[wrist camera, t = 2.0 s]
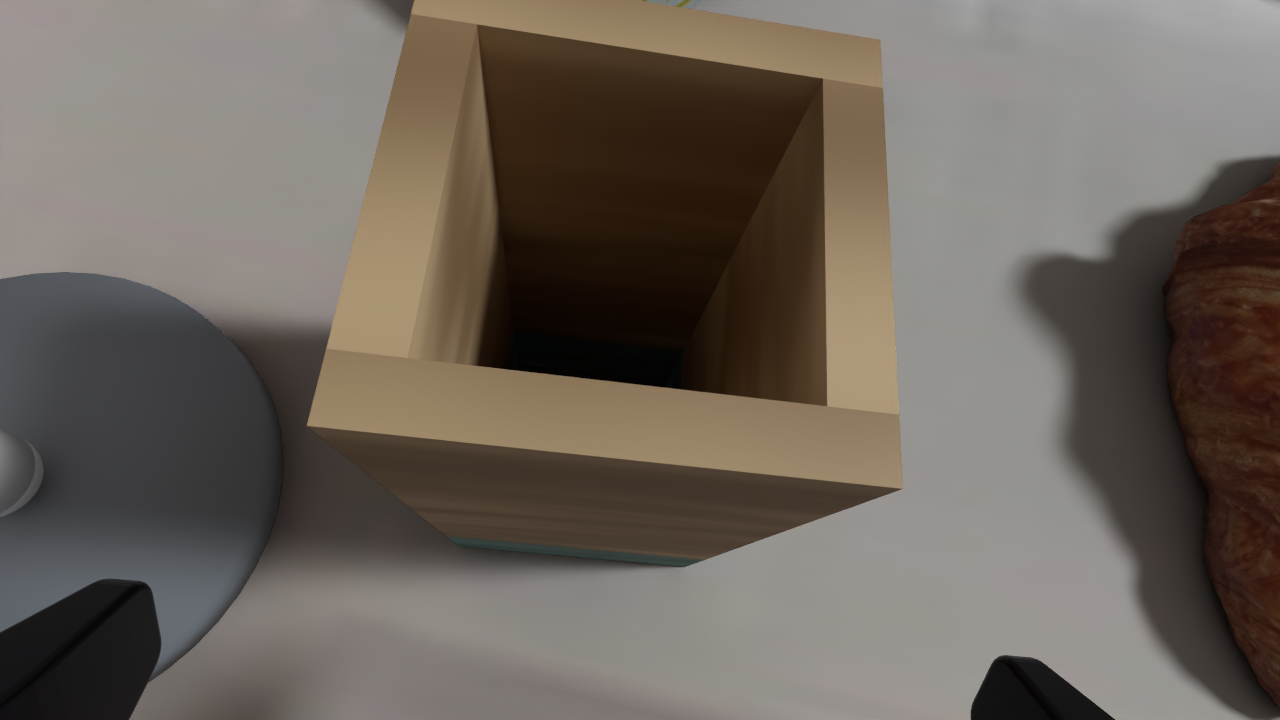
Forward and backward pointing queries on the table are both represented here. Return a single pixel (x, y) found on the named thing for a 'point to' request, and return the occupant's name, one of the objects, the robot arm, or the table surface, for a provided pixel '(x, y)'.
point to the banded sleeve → (621, 281)
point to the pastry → (1234, 406)
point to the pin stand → (129, 452)
